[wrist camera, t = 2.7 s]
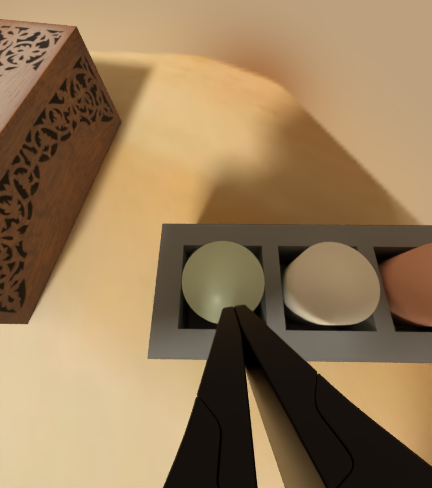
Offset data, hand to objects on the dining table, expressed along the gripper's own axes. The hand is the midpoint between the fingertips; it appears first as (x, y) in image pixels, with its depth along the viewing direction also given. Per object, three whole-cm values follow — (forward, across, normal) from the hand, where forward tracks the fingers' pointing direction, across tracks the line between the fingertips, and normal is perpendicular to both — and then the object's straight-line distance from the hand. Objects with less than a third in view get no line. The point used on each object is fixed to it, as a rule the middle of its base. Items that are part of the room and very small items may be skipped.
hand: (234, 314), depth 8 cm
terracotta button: (+5, -12, +5) cm, 14 cm away
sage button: (+7, 0, +4) cm, 8 cm away
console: (+9, -6, +8) cm, 14 cm away
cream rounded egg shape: (+6, -6, +5) cm, 10 cm away
